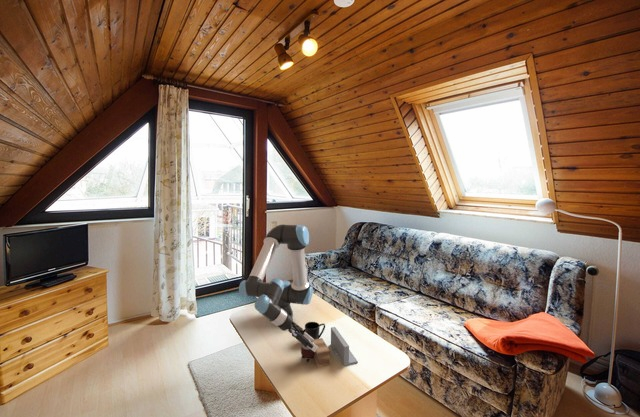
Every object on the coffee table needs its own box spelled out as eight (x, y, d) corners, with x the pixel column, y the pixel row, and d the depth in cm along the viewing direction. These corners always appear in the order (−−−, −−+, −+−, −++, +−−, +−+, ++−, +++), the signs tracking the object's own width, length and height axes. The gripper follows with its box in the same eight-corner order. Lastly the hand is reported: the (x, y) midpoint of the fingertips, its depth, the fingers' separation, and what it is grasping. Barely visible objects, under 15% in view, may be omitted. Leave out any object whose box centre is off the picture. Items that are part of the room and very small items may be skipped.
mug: (327, 342, 161) (327, 326, 160) (307, 346, 157) (307, 330, 156) (322, 334, 169) (322, 319, 168) (302, 338, 165) (302, 323, 163)
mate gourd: (314, 353, 148) (315, 325, 146) (314, 363, 140) (315, 334, 139) (300, 353, 148) (300, 325, 146) (299, 363, 140) (299, 334, 138)
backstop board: (330, 344, 159) (330, 327, 158) (342, 342, 161) (343, 325, 160) (344, 366, 141) (344, 346, 140) (357, 363, 143) (357, 344, 142)
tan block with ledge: (310, 352, 152) (310, 340, 151) (322, 350, 154) (322, 338, 153) (317, 366, 140) (317, 353, 140) (329, 364, 142) (329, 350, 142)
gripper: (273, 316, 147) (304, 340, 154) (280, 336, 128) (314, 363, 135) (283, 304, 148) (313, 329, 155) (291, 323, 129) (325, 350, 136)
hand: (314, 345), depth 145 cm, fingers closed on mate gourd, 7 cm apart
